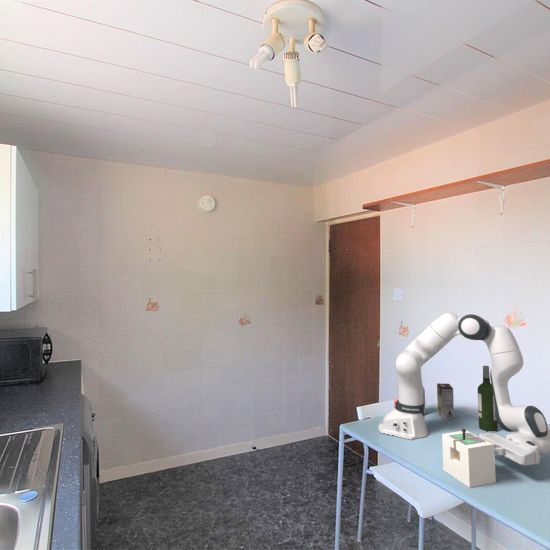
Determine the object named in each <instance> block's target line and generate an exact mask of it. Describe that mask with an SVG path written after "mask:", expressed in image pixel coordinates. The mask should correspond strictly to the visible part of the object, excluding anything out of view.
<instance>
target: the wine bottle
mask: <svg viewBox="0 0 550 550" xmlns="http://www.w3.org/2000/svg"><path fill="white" fill-rule="evenodd" d="M477 410H478V413H477V414H478V428H479V429H480V430H481V429H482V431H484V430H485V431H484V432H488V431H496V432H498V431H497V430H499V424H498V423H497V421H496V417H495V401H494V396H493V390H492V385H491V378H490V366H489V365H482V382H481V384H479V385H478V387H477Z"/></svg>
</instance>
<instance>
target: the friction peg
mask: <svg viewBox="0 0 550 550" xmlns="http://www.w3.org/2000/svg"><path fill="white" fill-rule="evenodd" d="M461 431H462V432H463V440H465V432H466V428H464V427H463V428H461ZM494 452H495V451H494ZM456 458H457V459H458V460H460V452H459V451H457V450H456Z"/></svg>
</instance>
